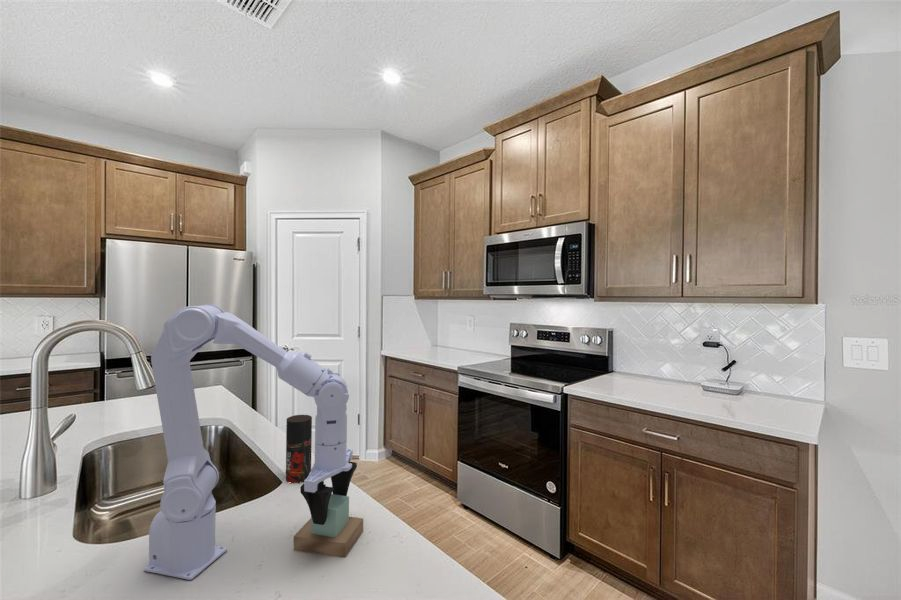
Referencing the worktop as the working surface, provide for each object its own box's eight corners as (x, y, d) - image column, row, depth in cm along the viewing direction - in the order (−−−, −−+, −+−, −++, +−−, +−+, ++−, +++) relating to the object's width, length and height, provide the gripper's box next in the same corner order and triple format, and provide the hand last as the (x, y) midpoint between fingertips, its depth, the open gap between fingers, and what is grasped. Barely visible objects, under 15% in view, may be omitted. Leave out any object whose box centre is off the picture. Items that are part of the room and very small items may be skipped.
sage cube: (310, 533, 74) (311, 506, 74) (325, 518, 79) (325, 493, 78) (335, 537, 73) (336, 510, 72) (348, 522, 77) (349, 496, 77)
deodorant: (315, 474, 103) (316, 416, 102) (301, 485, 97) (302, 423, 96) (295, 471, 104) (296, 413, 104) (280, 481, 98) (281, 420, 98)
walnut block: (293, 552, 73) (293, 536, 73) (315, 527, 81) (316, 512, 81) (345, 560, 71) (345, 543, 71) (363, 533, 79) (363, 518, 79)
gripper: (331, 457, 67) (330, 537, 68) (366, 429, 82) (365, 495, 82) (293, 453, 69) (292, 531, 69) (334, 426, 83) (334, 491, 83)
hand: (329, 511), depth 76 cm, fingers open, 7 cm apart
